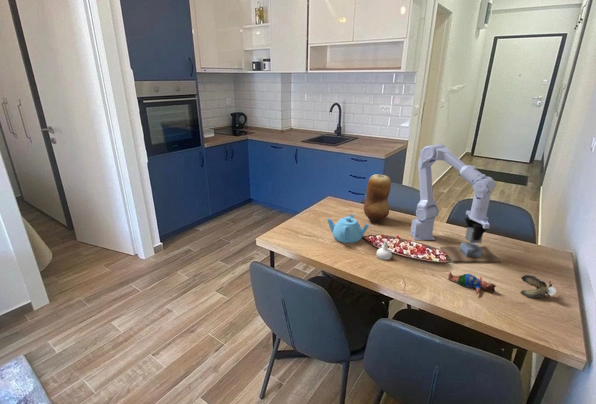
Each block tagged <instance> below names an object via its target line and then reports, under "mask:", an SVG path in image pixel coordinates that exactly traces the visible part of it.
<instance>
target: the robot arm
mask: <svg viewBox="0 0 596 404" xmlns="http://www.w3.org/2000/svg"><path fill="white" fill-rule="evenodd" d="M419 153H420V156H419V159H418V161H417V168H418V169H417V170H418V182H419V183H418V184H419V195H420V200H419V202H418V203H417V204H416V211H415V215H416V218H414V219H412V220H411V227H410V232H409V234H410V235H411V237H412V238H413V239H414V240H415V241H435V240H436V238H435V237H434V236H433V231H434V225H435V221H436V217H438V215H439V213H440V210H439V207H438V205H437V201H435V200H434V193H433V191H434V190H433V178H432V177H433V176H432V175H433V173H432V165H433V164H434V163H435V162H437V161H444V162H445V163H447V164H448V165H449V166H451V167H452V168H453V169H456V170H457V171H458V172H459V176H460V177H461V178H462V179H464V180H465V181H466V182H467V183H468V184H469V185H471V186H472V188H473V191H474V193H473V199H472V203H471V204H472V205H471V208H470V210H469V209H467V210H466V211H465V215H466V216H468V217H465V218H464V221H465V224H466V228H467V227H473V228H474V240H480V238H481V236H482V235H484V233H485V232H486V231H487V230H489V229H490V226H491V225H490V223H489V221H488V220H489V217H488V216H487V214H488V209H489V205H490V200H491V195H492V191H493V190H494V189H495V187H496V185H497V184H496V182H495V180H494V179H493V178H492V177H491V176H486V174H484V173H482V172H481V171H479V170H478V168H477V166H475V165H471V164H469V165H468V164H467V165H466V164H465V163H464V162H463V161H462V160H461V159H460V158H459V157H458V156H456V154H454V153H453V152H452V151H451V150H450V148H449V147H446V145H444V144H443V143H436V144H432V145H426V146H424V147H423V148H422V149H421V150H420V152H419ZM482 237H483V236H482Z"/></svg>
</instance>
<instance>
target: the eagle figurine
mask: <svg viewBox="0 0 596 404" xmlns="http://www.w3.org/2000/svg"><path fill="white" fill-rule="evenodd" d="M520 278H521V280H522V282H524V283H526V284H528V285H530V286H532V287H535V288H533V289H524V290H523V289H522V290H521V291H520V292H519V293H520V294H521V295H522V296H524V297H526V298H536V297H537V298H539V297H540V298H543V297H545V296H546V295H547V296H548V297H549V298H550V297H552V296H554V295H556V293H557V288H555V286H553V284H552V283H551V280H549V281H548V287H547V283H546V281H542V280H540V279H539V278H537V277H536V276H535V275H530V274H524V275H522V276H521V277H520Z"/></svg>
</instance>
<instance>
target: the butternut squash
mask: <svg viewBox="0 0 596 404" xmlns="http://www.w3.org/2000/svg"><path fill="white" fill-rule="evenodd" d="M391 185H392V179H391V178H390V177H389V176H388V175H385V174H377V173H375V174H373V175H371V176H370V177H369V178H368V181H367V186H366V190H365V192H366V197H365V201H364V204H363V212H364V215H365V216H366V217H367V219H368V220H370V221H371V222H379V221H382V220H385V219H386V218H387V217H388V216H389V214H390V205H389V195H390V193H391V189H392V188H391Z"/></svg>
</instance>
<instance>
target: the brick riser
mask: <svg viewBox="0 0 596 404" xmlns="http://www.w3.org/2000/svg"><path fill="white" fill-rule="evenodd" d="M439 249H440V250H441V252H442V253H444V252H445V253H446V254H447V255H448V256H449V257H450V259H451V261H452V262H451V261H450V262H451V263H453V264H457V263H458V264H469V263H470V264H477V263H478V264H480V263H481V264H486V263H487V264H491V263H494V264H500V263H501V264H502V262H503V261H502V259H500V258H499V256H497V255H496V254H495V253H494V252H493V251H491V250H490V249H489V248H488V247H486V246H479V245H478V243H470V242H461V243H460V246H440V248H439ZM450 259H449V260H450Z"/></svg>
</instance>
